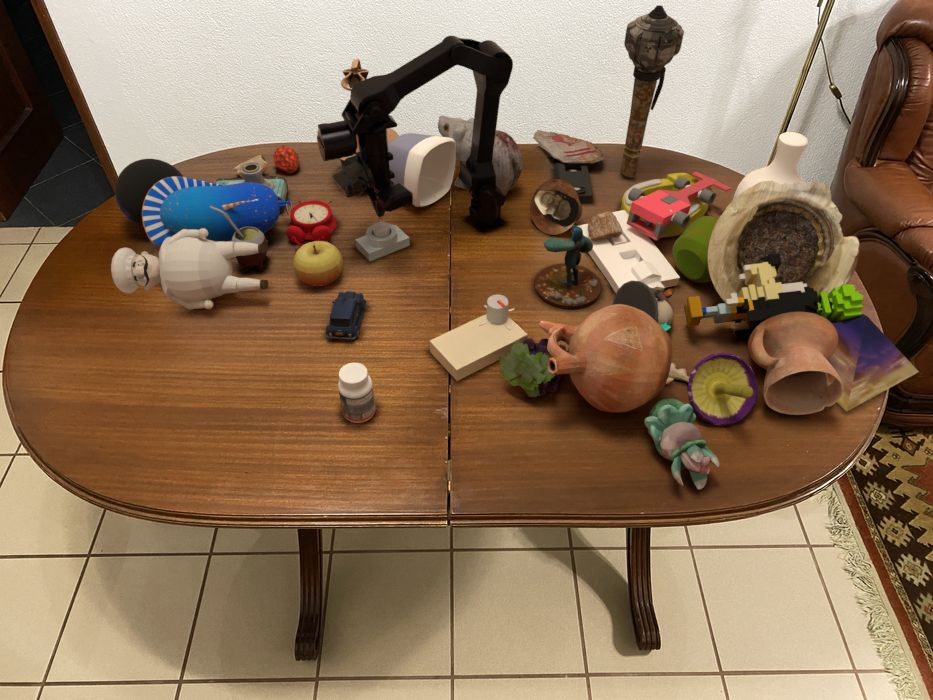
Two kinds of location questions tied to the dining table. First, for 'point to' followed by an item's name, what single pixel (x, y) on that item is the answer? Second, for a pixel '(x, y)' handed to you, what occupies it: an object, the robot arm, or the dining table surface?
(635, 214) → the race car
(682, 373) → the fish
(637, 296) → the figurine
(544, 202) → the brown hollow round piece
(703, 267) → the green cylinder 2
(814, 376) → the ceramic jug
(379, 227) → the flush button
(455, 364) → the panel
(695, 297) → the toy
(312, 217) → the alarm clock
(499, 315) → the knob
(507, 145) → the sculpture
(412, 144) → the bowl
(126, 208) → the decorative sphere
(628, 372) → the jug
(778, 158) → the vase
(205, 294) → the figurine
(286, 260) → the dining table surface
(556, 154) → the stone artifact
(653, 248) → the building model
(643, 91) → the mace
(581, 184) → the vhs tape
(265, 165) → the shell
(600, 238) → the stone
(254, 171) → the camera
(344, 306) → the toy car
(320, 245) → the apple
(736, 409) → the decorative mushroom
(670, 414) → the toy
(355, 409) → the pill bottle
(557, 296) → the figurine
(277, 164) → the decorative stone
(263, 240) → the mate gourd
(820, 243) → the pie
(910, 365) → the decorative sculpture
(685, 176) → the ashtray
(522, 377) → the fruit
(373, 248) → the control knob block
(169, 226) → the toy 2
